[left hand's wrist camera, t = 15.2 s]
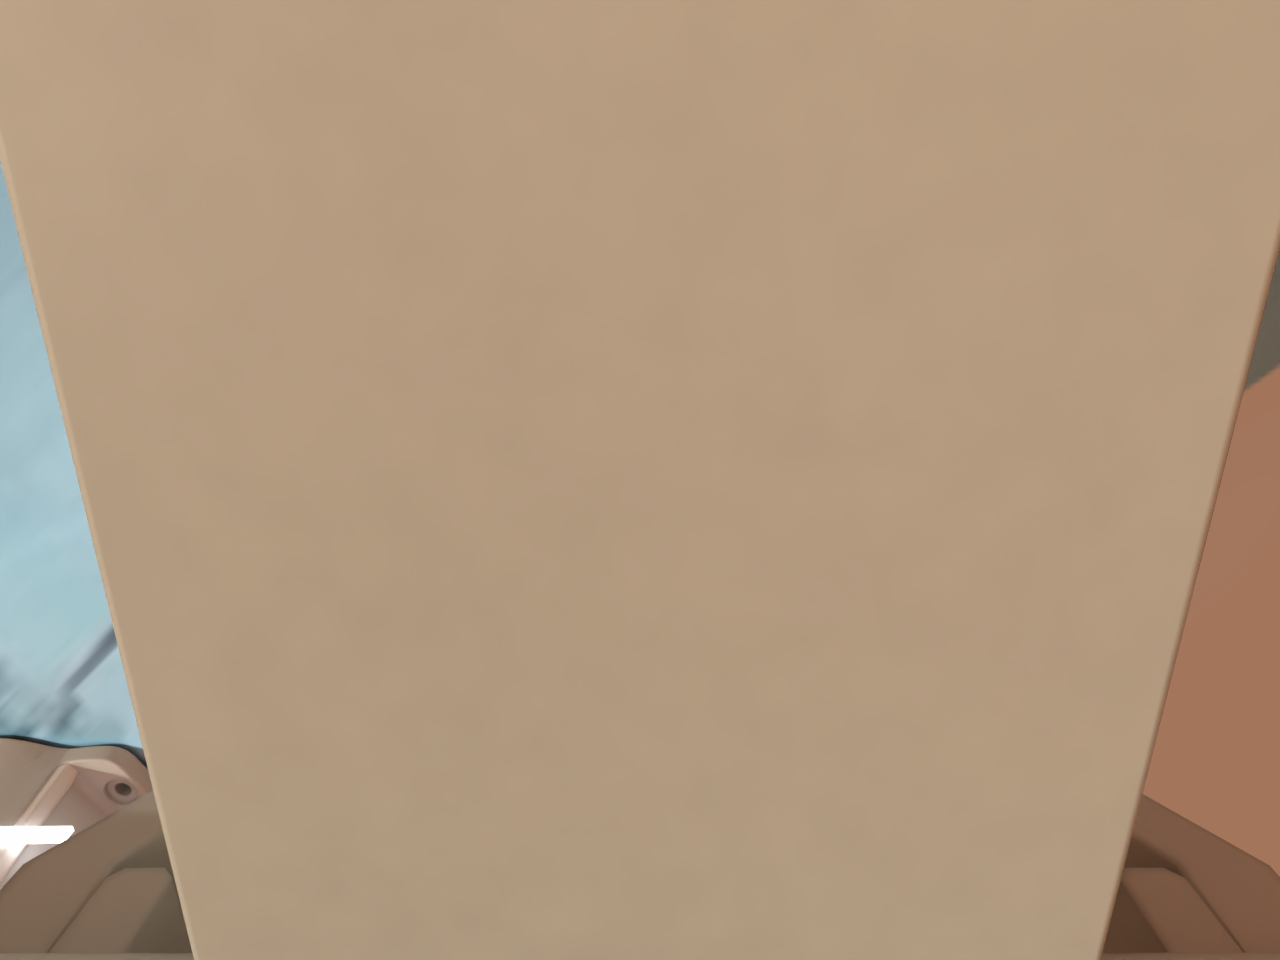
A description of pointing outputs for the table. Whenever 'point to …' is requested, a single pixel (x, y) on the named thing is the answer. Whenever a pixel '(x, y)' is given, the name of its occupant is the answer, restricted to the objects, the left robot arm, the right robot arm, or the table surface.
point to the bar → (646, 450)
